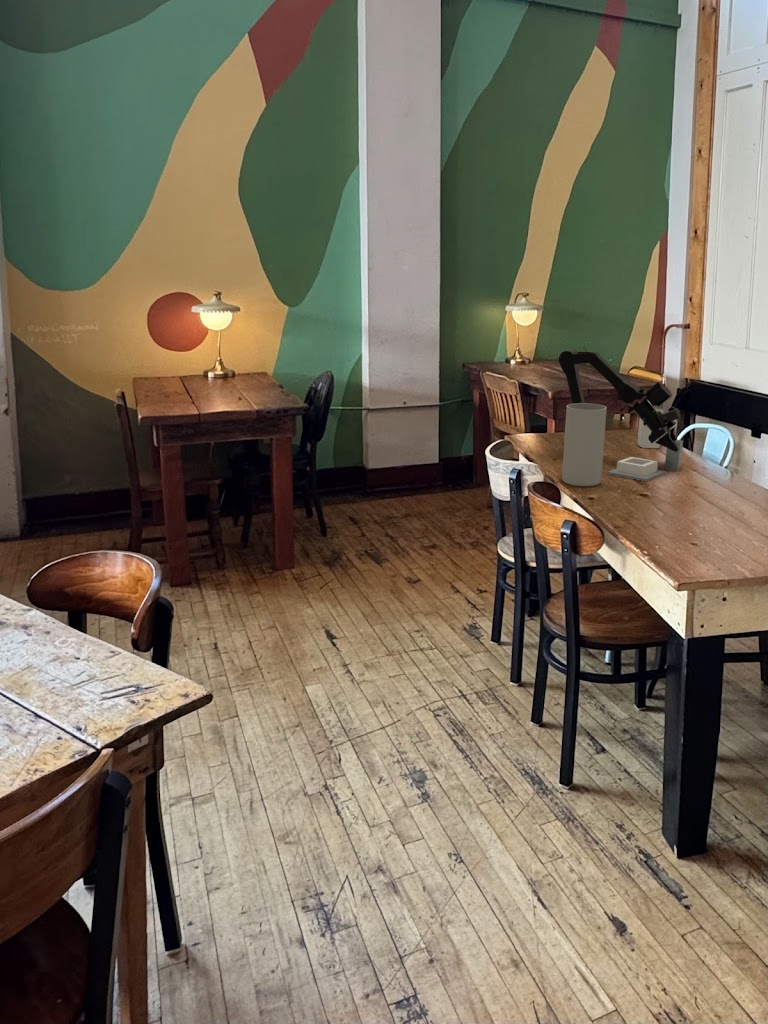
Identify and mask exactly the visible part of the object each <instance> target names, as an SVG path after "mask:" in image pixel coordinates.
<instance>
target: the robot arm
mask: <svg viewBox="0 0 768 1024" xmlns="http://www.w3.org/2000/svg"><path fill="white" fill-rule="evenodd" d="M558 363H559V366H560V368H561V370H562V372H563V374H564V375H565V377H566V381H567V385H568V386H567V387H568V390H569V395H570V400H571V404H577V403H586V402H585V396H584V392H583V388H582V387H583V386H582V381H581V378H580V366H581V364H582V365H583V364H590V365H591V366H592V367H593V368H594V369H595V370H596V371H597V372H598V373H599V374H600V375H601V376H602V377H603V378H604V379H605V380H606V381H608V383H609V384H610V385H612V387H613V388H614V390H615V392H616V393H617V395H618V397H619V398H620V400H621V401H622V402H623V403H625V404H629V405H628V406H627V409H628V410H627V414H628V415H630V414H631V413H633V412H634V413H635V414H636V415H637V417H639V419H640V418H641V420H642V421H643V422H644V423H643V425H644V426H645V425H646V426H647V427H648V428H649V429H650V430H651V431H652V432H651V434H650V435H649V438H648V440H649V441H650V442H651V443H653V442H655V441H656V440H657V439H658V440H657V441H656V442H655V443H657V444H660V446H661V447H664V448H666V449H667V448H668V449H670V450H672V451H674V452H677V451H678V449H677V447H676V445H675V444H674V442H673V440H678V437H677V435H676V433H675V432H676V431H675V430H676V425H677V422H676V421H677V420H678V419H680V418H681V414H680V413H681V412H680V411H681V410H679V408H678V407H677V408H676V407H675V406H671V407H669V408H668V411H666V412H664V413H663V414H662V413H661V412H660V411H658V412H657V411H656V410H655V409H654V407H653V406H658V407H661V406H662V405H663V404H665V403H666V402H667V401H668V400H669V399H671V398H672V397H673V393H672V391H671V390H670V389H669V388H668V386H666V385H664V384H663V383H661V382H660V381H657V382H656V383H655V384H654V385H653V386H651V388H650V389H649V390H647V389H642V388H640V387H639V386H638V385H637V384H635V383H633V382H631V381H630V380H629V379H626V378H625V377H623V376H622V375H621V374H620V373H619V372H618V371H617V370H615V368H614V367H613V366H612V365H610V363H608V362H607V361H606V359H604V358H603V357H602V356H601V355H600V353H599V352H598V351H595V350H591V351H578V350H576V349H571V348H569V349H568V350H564V351H562V352H561V353H560V355H559V356H558ZM645 397H646V398H645ZM642 399H643V400H642ZM637 400H638V401H637ZM641 400H642V401H641ZM636 401H637V402H636ZM648 401H649V402H650V403H651V404H652V405H653V406H652V405H651V404H650V403H649V402H648ZM634 402H635V403H634ZM632 403H634V404H632ZM654 410H655V411H654ZM644 418H645V419H644ZM672 439H673V440H672Z"/></svg>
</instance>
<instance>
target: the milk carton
mask: <svg viewBox="0 0 768 1024" xmlns="http://www.w3.org/2000/svg"><path fill="white" fill-rule="evenodd" d="M648 402H649V401H648ZM649 403H650V402H649ZM650 404H651V403H650ZM651 405H652V404H651ZM652 406H653V405H652ZM653 407H654V409H655V410H656V411H657V412H658V411H660V412H661V413H662V414H663V412H664V409H662V408H661V406H659V407H658V406H653ZM655 410H654V411H655ZM644 419H645V418H644ZM643 423H644V422H643V421H642V420H641V418H640V417H639V421H638V431H637V432H638V434H637V442H636V443H637V445H638V447H639V446H640V447H642V448H641V449H660V446H661V445H660V444H657V443H655V442H656V441H657V440H658V439H657V440H656V441H655V442H653V443H651V442H650V441H649V440H648V438H649V435H650V434H651V432H652V431H651V430H650V429H649V428H648V427H647V426H646V425H645V426H644V425H643ZM640 447H639V448H640Z"/></svg>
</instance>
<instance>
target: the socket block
mask: <svg viewBox="0 0 768 1024" xmlns="http://www.w3.org/2000/svg"><path fill="white" fill-rule="evenodd" d="M658 463H659V461H657V460H653V459H646V458H640V457H636V456H630V457H627V458H624V459H620V460H618V461H616V468H615V469H611V470H609V471H607V475H609V476H612V475H613V477H618V476H619V477H618V478H623V477H625V478H624V479H628V478H630V479H629V480H633V479H636V480H635V481H638V480H641V481H640V482H643V481H647V482H649V481H652V480H654V479H657V478H659V476H660V477H662V476H665V475H666V471H667V470H661V469H658ZM664 474H665V475H664ZM651 479H652V480H651ZM648 480H649V481H648Z"/></svg>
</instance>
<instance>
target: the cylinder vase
mask: <svg viewBox="0 0 768 1024" xmlns="http://www.w3.org/2000/svg"><path fill="white" fill-rule="evenodd" d="M607 408H608V407H607V406H605V405H602V404H598V403H589V402H588V403H586V402H585V403H577V404H572V403H570V404H567V405H566V409H565V412H566V413H565V414H566V415H565V427H564V440H563V441H564V442H563V443H564V444H563V456H562V457H563V458H562V459H563V460H562V474H561V475H562V476H561V478H562V479H561V481H562V482H563V483H565V484H566V485H569V486H575V487H582V488H583V487H596V486H598V485H600V484H601V482H602V474H603V460H604V450H605V449H604V446H605V445H604V444H605V434H606V421H607Z"/></svg>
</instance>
